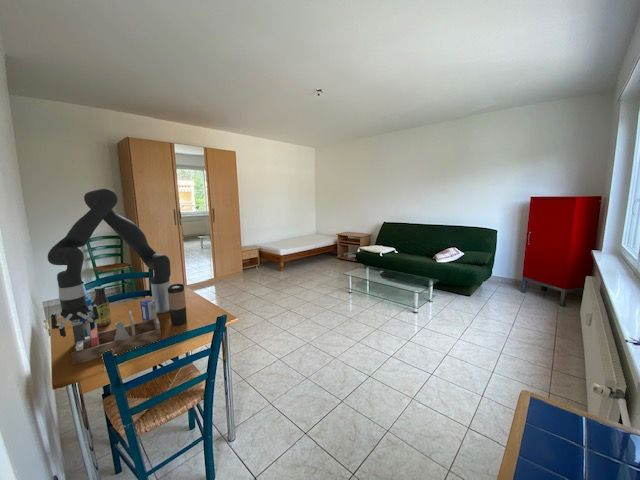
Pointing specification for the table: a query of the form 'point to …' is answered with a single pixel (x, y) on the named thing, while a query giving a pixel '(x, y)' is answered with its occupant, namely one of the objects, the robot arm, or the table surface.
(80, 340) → the kicker
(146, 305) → the walkman
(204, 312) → the table surface
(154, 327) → the brown wooden open box
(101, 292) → the sauce bottle
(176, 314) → the travel mug
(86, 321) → the blue-lidded jar
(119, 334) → the flask
